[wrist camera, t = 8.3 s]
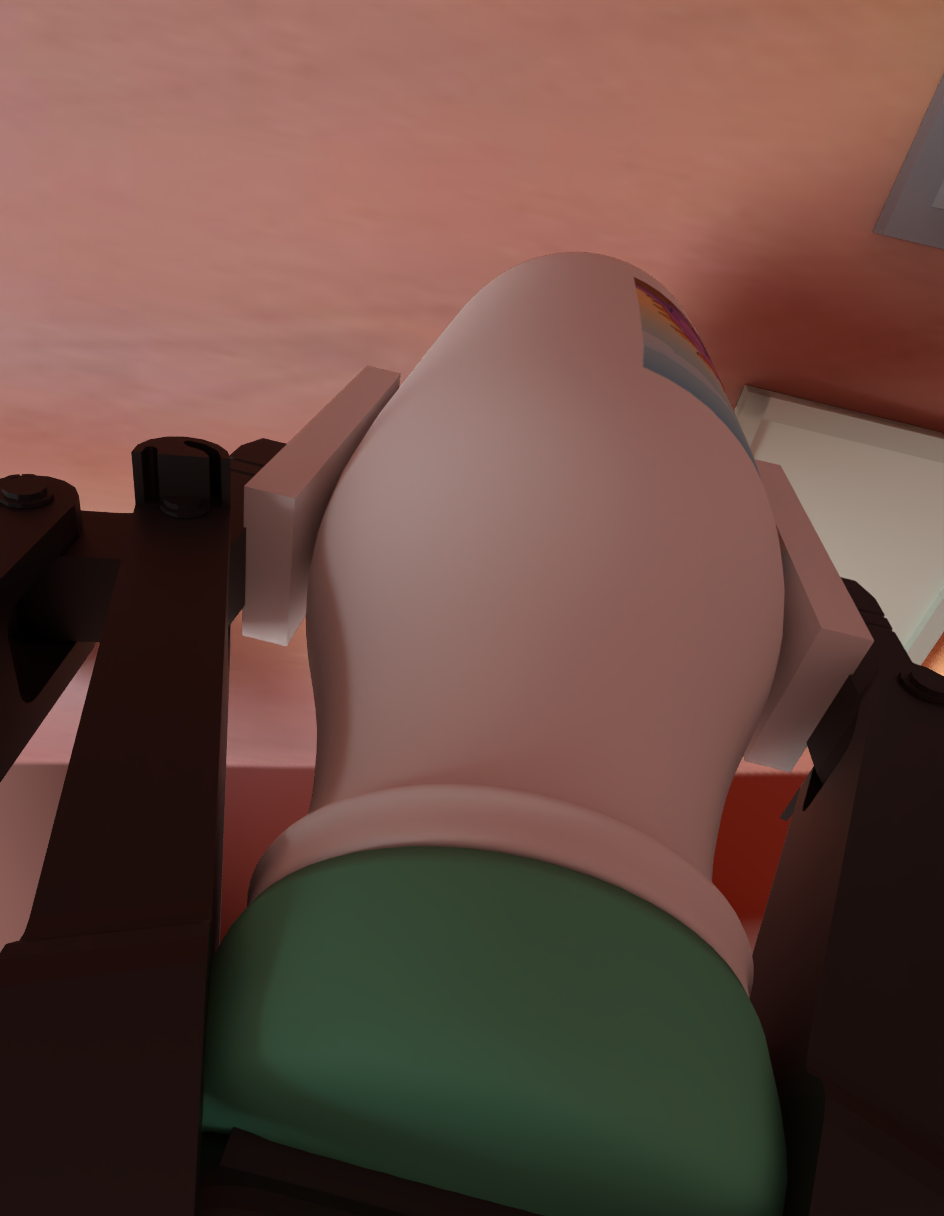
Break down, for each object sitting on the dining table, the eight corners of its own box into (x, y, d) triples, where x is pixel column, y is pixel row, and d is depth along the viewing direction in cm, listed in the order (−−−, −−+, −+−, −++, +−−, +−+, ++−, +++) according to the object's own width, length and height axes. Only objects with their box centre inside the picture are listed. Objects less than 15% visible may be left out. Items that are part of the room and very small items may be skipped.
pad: (744, 384, 27) (749, 392, 26) (1042, 456, 26) (1057, 466, 25) (647, 625, 33) (648, 637, 32) (888, 686, 32) (896, 700, 31)
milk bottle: (436, 496, 24) (63, 1299, 7) (444, 236, 20) (-383, 763, 3) (672, 523, 23) (842, 1482, 7) (734, 259, 19) (1621, 1107, 2)
